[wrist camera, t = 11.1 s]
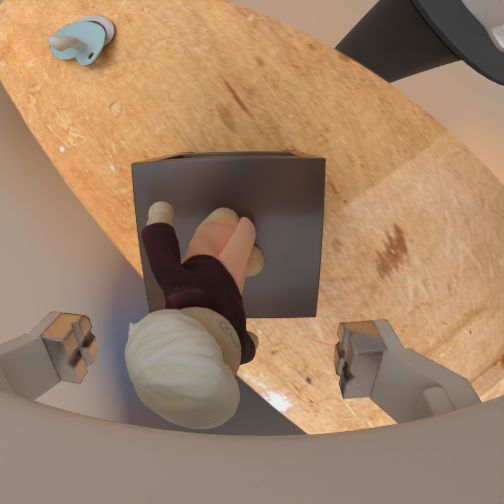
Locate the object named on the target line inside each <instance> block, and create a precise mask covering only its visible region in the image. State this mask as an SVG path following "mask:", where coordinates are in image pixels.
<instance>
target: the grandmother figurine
mask: <svg viewBox="0 0 504 504" xmlns="http://www.w3.org/2000/svg"><path fill="white" fill-rule="evenodd" d="M148 216H149V220H148V222H147V226H146V227H144V228H143V230H142V232H141V237H142V243H143V246H144V248H145V251H146V254H147V257H148V260H149V264H150V267H151V270H152V272H153V275H154V277H155V279H156V281H157V283H158V285H159V287H160V288H161V289H162V290H163V292H164V297H165V309H163V310H159V311H155V312H152V313H150V314H148V315H147V316H146V317H145V318H143V319H142V320H141V321H140V322H139V323H135V324H132V323H130V327H129V335H128V342H127V344H126V348H125V359H126V365H127V369H128V374H129V377H130V379H131V381H132V383H133V384H134V387H135V390H136V393H137V395H138V397H139V398H140V400H141V401H142V403H143V404H144V405H146V406H147V407H148V408H150V409H152V410H153V411H154V412H156V413H157V414H159V415H160V416H161V417H163V418H164V419H166V420H167V421H170V422H173V423H175V424H178V425H181V426H184V427H187V428H193V429H208V428H214V427H216V426H219V425H221V424H223V423H224V422H226V421H227V420H229V419H230V418H231V417H232V416H233V415H234V413H235V411H236V408H237V406H238V404H239V400H240V393H239V388H238V384H237V381H236V380H235V378H234V377H235V375H236V373H237V371H238V369H239V366H240V365H242V364H245V363H248V362H250V361H251V360H252V359H253V358H254V356H255V352H256V349H257V347H258V343H259V342H258V338H257V336H256V335H255V334H254V333H252V332H248V331H247V330H246V315H245V310H244V307H243V299H242V296H241V295H242V290H243V286H244V282H245V278H246V277H247V276H254V275H256V274H258V273H259V272H260V271H261V270H262V268H263V266H264V257H263V254H262V252H261V250H260V249H259V248H257V247H256V246H254V242H255V237H256V232H255V227H254V225H253V223H252V222H251V221H250V220H249V219H248V218H247V217H242V218H241V219H240V218H239V217H238V215H237V214H236V213H235V212H234V211H233V210H231V209H229V208H224V207H223V208H218V209H216V210H215V211H213V212H212V213H211V214H210V215H209V216H208V217H207V218H206V219H205V220H204V221H203V222H202V223H201V224H200V225H199V226H198V227H197V229H196V232H195V234H194V236H193V238H192V240H191V241H190V244H189V247H188V250H187V252H186V255H185V256H184V259H183V261H182V263H181V254H180V247H179V241H178V239H177V236H176V232H175V229H174V224H173V218H174V211H173V208H172V206H171V205H170V204H169V203H167V202H163V201H160V202H156V203H154V204H153V205H152V206H151V207H150V209H149V213H148Z"/></svg>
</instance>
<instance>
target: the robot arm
mask: <svg viewBox="0 0 504 504" xmlns="http://www.w3.org/2000/svg"><path fill="white" fill-rule="evenodd" d="M461 1H462V2H463V4H464V5H465V6H466V7H467V9H468V10H469V11H470V12H471V13H472V14H473V16H474V17H475V18H476V19H477V20H478V21H479V22H480V23H481V24H482V25H483V26H484V28H485V29H486V31H487V33H488V35H489V36H490V38H491V40H492V42H493V43H494V45H495V46H496V48H497V49H498V50H499V51H501V52H504V0H461ZM91 328H92V325H91V322H90V319H89V318H88V317H87V316H85V315H78V314H70V313H62V312H50V313H49V314H48V315H47V316H46V317H45V318H44V319H43V320H42V321H41V322H40V323H39V324H38V325H37V326H36V327H35V328H34V329H33V330H32V331H31V332H30V333H29V334H24V335H22V336H20V337H17V338H15V339H12V340H10V341H8V342H5V343H3V344H1V345H0V504H504V395H503V396H500V397H497V398H494V399H491V400H488V401H485V402H481V400H480V398H479V397H478V395H477V394H476V392H475V391H474V389H473V388H472V386H471V385H470V383H469V381H468V380H467V379H466V378H464V377H462V376H460V375H458V374H457V373H455V372H453V371H451V370H449V369H447V368H445V367H443V366H442V365H440V364H438V363H436V362H434V361H432V360H430V359H429V358H427V357H425V356H423V355H421V354H419V353H417V352H416V351H414V350H412V349H410V348H404V347H403V345H402V343H401V341H400V340H399V338H398V336H397V335H396V333H395V332H394V330H393V328H392V327H391V325H390V323H389V322H388V320H386V319H378V320H370V321H357V322H342V323H340V324H339V327H338V332H337V335H338V338H339V342H338V343H337V344H336V345H335V351H334V366H335V371H336V374H337V375H339V376H340V381H339V386H340V389H341V393H342V396H343V399H348V398H361V397H370V399H371V400H372V401H374V402H375V403H376V404H377V405H378V406H379V407H380V408H381V409H382V410H384V411H385V412H386V413H387V414H388V415H389V416H390V417H391V418H393V419H394V420H395V421H396V422H397V423H398V424H393V425H388V426H382V427H375V428H368V429H361V430H354V431H345V432H336V433H325V434H312V435H293V436H233V435H213V434H200V433H188V432H178V431H170V430H161V429H154V428H147V427H141V426H134V425H129V424H124V423H118V422H113V421H108V420H103V419H99V418H94V417H90V416H86V415H82V414H78V413H74V412H70V411H66V410H63V409H59V408H56V407H52V406H49V405H45V404H42V403H39V402H36V401H34V400H35V399H37V398H38V397H40V396H41V395H42V394H44V393H45V392H47V391H48V390H49V389H51V388H52V387H54V386H55V385H56V384H58V383H59V382H60V380H61V381H66V382H71V383H77V384H81V382H82V380H83V379H84V377H85V376H86V374H87V372H88V370H87V366H89V365H91V364H93V363H94V361H95V359H96V357H97V352H98V347H97V341H96V338H95V336H94V335H93V334H92V333H91V332H90V331H91Z"/></svg>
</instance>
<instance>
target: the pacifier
mask: <svg viewBox="0 0 504 504" xmlns="http://www.w3.org/2000/svg"><path fill="white" fill-rule="evenodd" d="M93 22H97V23H100V24H102V25H103V26H104V27H105V29H106V34H105V31H104V29H103V28H102V27H101V26H100V25H98V24H96V23H93ZM113 36H114V26H113V23H112V22H111V21H110V20H109V19H107V18H105V17H103V16H100V15H89V16H85V17H82V18H80V19H78V20H76V21H75V22H73V23H70V24H67V25H65V26H63V27H62V28H61V29H59V30H58V31H57V32H56V33H55V34H54V35H51V36H49V38H48V42H49V45H50V51H51V53H52V54H53V56H54V57H56V58H58V59H62V60H67V59H72V58H76V60H77V61H78V63H79V64H81V65H90V64H92V63H93V62H94V61H95V60H96V59H97V57H98V56H99V54H100V52H101V51H102V48H103V46H105V45H106V44H108V43H109V42H110V41H111V39H112V38H113ZM64 49H66V50H65V51H63V52H60V50H64ZM93 53H94V54H93ZM91 54H93V56H92V58H91V59H89V56H90V55H91Z"/></svg>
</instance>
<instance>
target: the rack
mask: <svg viewBox="0 0 504 504" xmlns="http://www.w3.org/2000/svg"><path fill="white" fill-rule="evenodd" d="M325 163H326V160H325V158H322V157H318V156H315V155H311V154H308V153H304V152H300V151H297V150H284V152H280V151H250V152H211V153H194V152H183V153H177V154H172V155H167V156H162V157H158V158H153V159H148V160H144V161H140V162H136V163H132V179H133V192H134V203H135V213H136V223H137V232H138V240H139V248H140V256H141V263H142V270H143V276H144V283H145V289H146V295H147V300H148V306H149V312H150V313H152V312H155V311H159V310H163V309H165V297H164V292H163V290H162V289H161V288H160V287H159V285H158V283H157V281H156V279H155V277H154V275H153V272H152V270H151V267H150V264H149V260H148V257H147V254H146V251H145V248H144V246H143V243H142V237H141V232H142V230H143V228H144V227H146V226H147V222H148V220H149V216H148V213H149V209H150V207H151V206H152V205H153V204H154V203H156V202H160V201H163V202H167V203H169V204H170V205H171V206H172V208H173V211H174V218H173V224H174V229H175V232H176V236H177V239H178V241H179V247H180V254H181V263H182V261H183V259H184V256H185V255H186V252H187V250H188V247H189V244H190V241H191V240H192V238H193V236H194V234H195V232H196V229H197V227H198V226H199V225H200V224H201V223H202V222H203V221H204V220H205V219H206V218H207V217H208V216H209V215H210V214H211V213H212V212H213V211H215V210H216V209H218V208H223V207H224V208H229V209H231V210H233V211H234V212H235V213H236V214H237V215H238V217H239V218H240V219H241V218H242V217H247V218H248V219H249V220H250V221H251V222H252V223H253V225H254V227H255V232H256V237H255V242H254V246H256V247H257V248H259V249H260V250H261V252H262V254H263V257H264V266H263V268H262V270H261V271H260V272H259V273H258V274H256V275H254V276H247V277H246V278H245V282H244V286H243V290H242V295H241V296H242V299H243V307H244V310H245V315H246V318H302V317H316V311H317V301H318V290H319V278H320V265H321V251H322V236H323V218H324V195H325Z"/></svg>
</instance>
